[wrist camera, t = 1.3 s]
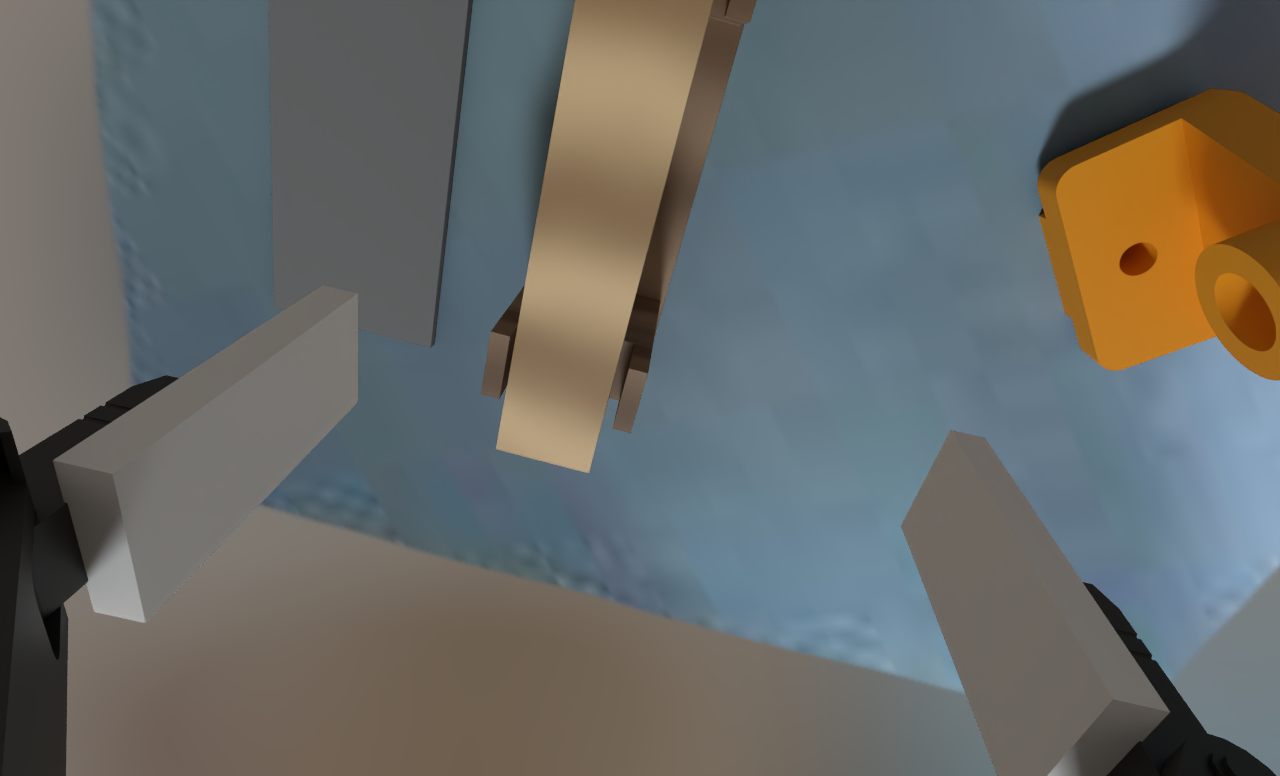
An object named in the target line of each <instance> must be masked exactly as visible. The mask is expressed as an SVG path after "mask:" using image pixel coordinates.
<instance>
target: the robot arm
mask: <svg viewBox="0 0 1280 776" xmlns="http://www.w3.org/2000/svg"><path fill="white" fill-rule="evenodd" d="M357 402H358V293H355V292H350V291H346V290H342V289H337V288H333V287H329V286H324V285H322V286H321V287H319V288H318V289H316V290H315V291H313V292H312V293H310V294H308V295H307V296H305V297H304V298H302V299H301V300H299V301H298V302H296V303H295V304H293V305H291V306H290V307H288V308H287V309H285V310H284V311H282V312H281V313H279V314H278V315H276V316H275V317H273V318H271V319H270V320H268V321H267V322H265V323H264V324H262V325H261V326H259V327H258V328H256V329H254V330H253V331H251V332H250V333H248V334H247V335H245V336H244V337H242V338H241V339H239V340H238V341H236V342H234V343H233V344H231V345H230V346H228V347H227V348H225V349H224V350H222V351H221V352H219V353H217V354H216V355H214V356H213V357H211V358H210V359H208V360H207V361H205V362H204V363H202V364H201V365H199V366H197V367H196V368H194V369H193V370H191V371H190V372H188V373H187V374H185V375H184V376H182V377H180V378H176V377H171V376H167V375H166V376H163V377H160V378H157V379H153V380H150V381H147V382H144V383H141V384H138V385H135V386H132V387H130V388H129V389H127V390H125V391H124V392H122V393H121V394H119V395H117V396H116V397H114V398H112V399H111V400H109V401H107V402H106V405H105V406H99V407H98V408H96V409H94V410H93V411H91V412H89V413H88V414H86V415H84V419H83V420H81V419H78V420H76V421H75V422H73V423H72V424H70V425H68V426H66V427H65V428H63V429H62V430H60V431H58V432H57V433H55V434H53V435H52V436H50V437H48V438H47V439H45V440H43V441H42V442H40V443H39V444H37V445H35V446H34V447H32V448H30V449H29V450H27V451H25V452H24V453H22V454H20V455H18V451H17V448H16V445H15V441H14V438H13V435H12V431H11V429H10V426H9V424H8V421H6V420H4V419H2V418H0V776H66V731H67V728H66V727H67V723H66V722H67V661H68V655H67V654H68V617H67V614H66V610H65V607H64V604H63V603H64V602H65V601H66V600H67V599H68V598H70V597H71V596H72V595H73V594H74V593H75V592H77V591H78V590H79V589H80V588H81V587H82V586H83V585H84V584H85V583H86V584H87V588H88V591H89V595H90V599H91V602H92V606H93V610H94V612H98V613H102V614H106V615H111V616H115V617H120V618H124V619H129V620H133V621H138V622H142V623H146V622H147V621H148V620H149V619H150V618H151V617H152V616H153V615H154V614H155V613H156V612H157V611H158V610H159V609H160V608H161V607H162V606H163V605H164V604H165V603H166V602H167V600H169V598H170V597H171V596H172V595H173V594H174V593H175V592H176V591H177V590H178V589H179V588H180V587H181V586H182V585H183V584H184V583H185V582H186V581H187V580H188V579H189V577H191V575H192V574H193V573H194V572H195V571H196V570H197V569H198V568H199V567H200V566H201V565H202V564H203V563H204V562H205V561H206V560H207V559H208V558H209V557H210V556H211V555H212V553H214V551H215V550H216V549H217V548H218V547H219V546H220V545H221V544H222V543H223V542H224V541H225V540H226V539H227V538H228V537H229V536H230V535H231V534H232V533H233V532H234V531H235V529H236V528H238V526H239V525H240V524H241V523H242V522H243V521H244V520H245V519H246V518H247V517H248V516H249V515H250V514H251V513H252V512H253V511H254V510H255V509H256V508H257V507H258V506H259V505H260V504H261V502H262V501H263V500H264V499H265V498H266V497H267V496H268V495H269V494H270V493H271V492H272V491H273V490H274V489H275V488H276V487H277V486H278V485H279V484H280V483H281V482H282V481H283V480H284V478H285V477H286V476H287V475H288V474H289V473H290V472H291V471H292V470H293V469H294V468H295V467H296V466H297V465H298V464H299V463H300V462H301V461H302V460H303V459H304V458H305V457H306V456H307V454H308V453H309V452H310V451H311V450H312V449H313V448H314V447H315V446H316V445H317V444H318V443H319V442H320V441H321V440H322V439H323V438H324V437H325V436H326V435H327V434H328V433H329V432H330V430H331V429H332V428H333V427H334V426H335V425H336V424H337V423H338V422H339V421H340V420H341V419H342V418H343V417H344V416H345V415H346V414H347V413H348V412H349V411H350V410H351V409H352V408H353V406H354V405H355V404H356V403H357ZM901 527H902V530H903V532H904V535H905V537H906V540H907V543H908V545H909V548H910V550H911V553H912V556H913V558H914V561H915V563H916V566H917V569H918V571H919V574H920V576H921V579H922V582H923V584H924V587H925V589H926V592H927V595H928V597H929V600H930V602H931V605H932V608H933V610H934V613H935V615H936V618H937V621H938V623H939V626H940V628H941V631H942V633H943V636H944V639H945V641H946V644H947V646H948V649H949V652H950V654H951V657H952V659H953V662H954V665H955V667H956V670H957V672H958V675H959V678H960V680H961V683H962V685H963V688H964V691H965V693H966V696H967V698H968V701H969V704H970V706H971V708H972V711H973V714H974V716H975V719H976V722H977V724H978V727H979V730H980V732H981V735H982V737H983V739H984V742H985V745H986V747H987V750H988V753H989V755H990V758H991V761H992V763H993V766H994V768H995V771H996V773H997V776H1276V775H1275V774H1274V773H1273V772H1272V771H1271V770H1270V769H1269V768H1268V767H1267V766H1266V765H1264V764H1263V763H1261V762H1260V761H1259V760H1258V759H1256V758H1255V757H1254V756H1252V755H1251V754H1250V753H1248V752H1247V751H1246V750H1244V749H1242V748H1240V747H1238V746H1236V745H1235V744H1233V743H1231V742H1229V741H1227V740H1225V739H1223V738H1220V737H1216V736H1213V735H1210V734H1207V733H1206V731H1205V730H1204V728H1203V727H1202V725H1201V724H1200V722H1199V721H1198V720H1197V718H1196V717H1195V715H1194V714H1193V712H1192V711H1191V710H1190V708H1189V707H1188V705H1187V704H1186V703H1185V701H1184V700H1183V698H1182V697H1181V696H1180V694H1179V693H1178V691H1177V690H1176V688H1175V687H1174V686H1173V684H1172V683H1171V681H1170V680H1169V679H1168V677H1167V676H1166V674H1165V673H1164V671H1163V670H1162V669H1161V667H1160V666H1159V664H1158V663H1157V662H1156V661H1155V660H1152V659H1151V657H1152V655H1151V653H1150V652H1149V650H1148V649H1147V647H1146V646H1145V645H1144V643H1143V642H1142V640H1141V639H1137V633H1136V632H1135V631H1134V629H1133V628H1132V626H1131V625H1130V623H1129V622H1128V621H1127V619H1126V618H1125V616H1124V615H1123V614H1122V612H1121V611H1120V609H1119V608H1118V607H1117V606H1115V605H1114V604H1113V603H1112V602H1111V601H1110V600H1109V599H1108V598H1107V597H1106V596H1105V595H1103V594H1102V593H1101V592H1100V591H1099V590H1098V589H1097V588H1096V587H1095V586H1094V585H1093V584H1088V583H1084V582H1082V581H1081V579H1080V578H1079V576H1078V575H1077V573H1076V572H1075V570H1074V569H1073V567H1072V566H1071V564H1070V563H1069V562H1068V560H1067V559H1066V557H1065V556H1064V554H1063V553H1062V551H1061V550H1060V548H1059V547H1058V545H1057V544H1056V542H1055V541H1054V539H1053V538H1052V536H1051V535H1050V533H1049V532H1048V530H1047V529H1046V528H1045V526H1044V525H1043V523H1042V522H1041V520H1040V519H1039V517H1038V516H1037V514H1036V513H1035V511H1034V510H1033V508H1032V507H1031V505H1030V504H1029V502H1028V501H1027V499H1026V498H1025V496H1024V495H1023V494H1022V492H1021V491H1020V489H1019V488H1018V486H1017V485H1016V483H1015V482H1014V480H1013V479H1012V477H1011V476H1010V474H1009V473H1008V471H1007V470H1006V468H1005V467H1004V465H1003V464H1002V462H1001V461H1000V460H999V458H998V457H997V455H996V454H995V452H994V451H993V449H992V448H991V446H990V445H989V443H988V442H987V440H986V439H985V438H983V437H979V436H974V435H970V434H966V433H961V432H957V431H953V430H951V431H950V433H949V435H948V436H947V438H946V440H945V442H944V444H943V446H942V448H941V450H940V452H939V454H938V456H937V458H936V460H935V461H934V463H933V465H932V467H931V469H930V471H929V473H928V475H927V477H926V479H925V481H924V483H923V485H922V487H921V488H920V490H919V492H918V494H917V496H916V498H915V500H914V502H913V504H912V506H911V508H910V510H909V512H908V514H907V515H906V517H905V519H904V521H903V523H902V525H901Z"/></svg>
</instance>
